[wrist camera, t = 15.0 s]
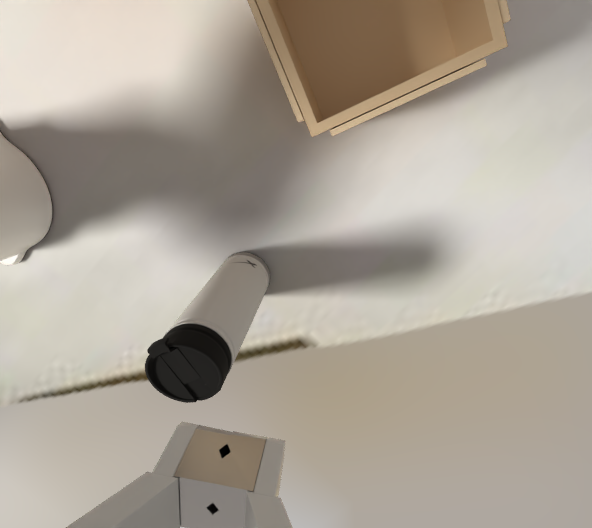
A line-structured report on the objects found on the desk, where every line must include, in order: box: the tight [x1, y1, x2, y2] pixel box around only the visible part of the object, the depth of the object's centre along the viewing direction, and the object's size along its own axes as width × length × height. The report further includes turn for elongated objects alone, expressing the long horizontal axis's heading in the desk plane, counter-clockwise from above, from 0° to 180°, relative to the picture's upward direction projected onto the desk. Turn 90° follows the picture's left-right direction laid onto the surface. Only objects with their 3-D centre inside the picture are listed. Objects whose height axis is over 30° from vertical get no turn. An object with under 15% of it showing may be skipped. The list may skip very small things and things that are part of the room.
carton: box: [247, 0, 511, 137], centre depth 30 cm, size 16×16×10 cm
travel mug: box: [145, 252, 270, 403], centre depth 37 cm, size 6×7×20 cm
